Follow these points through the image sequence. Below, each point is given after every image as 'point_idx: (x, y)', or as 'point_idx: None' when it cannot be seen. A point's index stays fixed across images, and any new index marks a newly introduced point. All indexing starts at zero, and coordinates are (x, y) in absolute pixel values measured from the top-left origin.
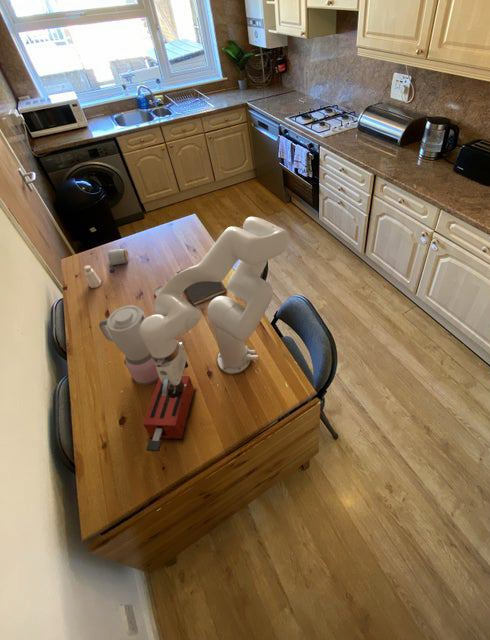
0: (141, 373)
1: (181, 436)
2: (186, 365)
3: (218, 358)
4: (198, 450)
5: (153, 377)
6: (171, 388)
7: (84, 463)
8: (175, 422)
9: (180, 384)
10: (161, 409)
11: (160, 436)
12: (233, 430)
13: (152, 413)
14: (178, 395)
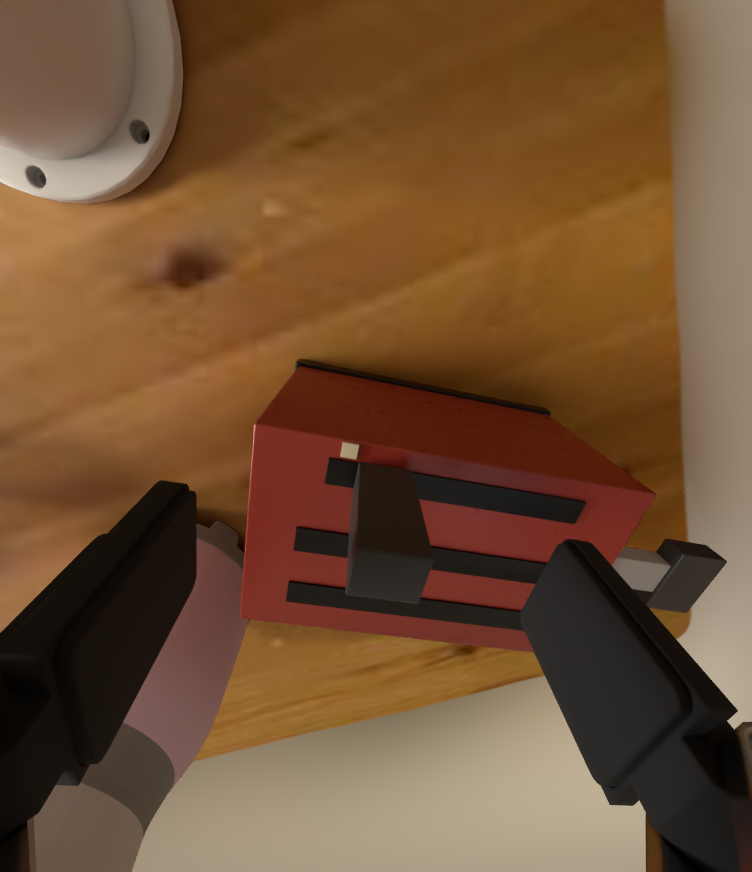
0: (221, 677)
1: (549, 418)
2: (163, 530)
3: (55, 189)
4: (622, 329)
5: (229, 582)
6: (716, 825)
7: (502, 680)
8: (635, 494)
9: (410, 532)
10: (503, 583)
11: (630, 549)
12: (606, 92)
13: (513, 624)
14: (608, 571)
